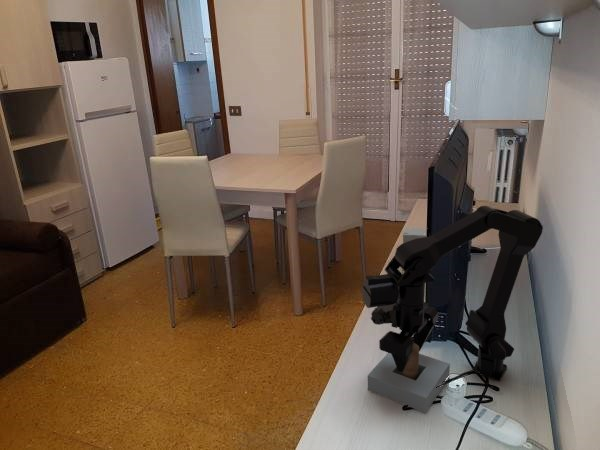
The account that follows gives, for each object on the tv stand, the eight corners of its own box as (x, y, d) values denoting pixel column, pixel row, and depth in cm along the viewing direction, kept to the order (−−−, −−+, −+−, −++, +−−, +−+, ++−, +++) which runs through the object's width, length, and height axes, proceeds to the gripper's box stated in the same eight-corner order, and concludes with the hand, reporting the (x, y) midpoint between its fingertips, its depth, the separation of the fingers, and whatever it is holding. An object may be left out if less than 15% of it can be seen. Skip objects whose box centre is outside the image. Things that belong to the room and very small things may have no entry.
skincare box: (429, 269, 166) (430, 227, 161) (426, 278, 160) (428, 235, 155) (405, 267, 169) (406, 226, 164) (401, 275, 163) (402, 233, 158)
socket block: (394, 358, 118) (394, 345, 116) (449, 377, 110) (449, 363, 108) (367, 389, 107) (367, 375, 106) (425, 413, 99) (426, 397, 98)
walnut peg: (404, 376, 111) (405, 340, 108) (420, 382, 109) (421, 345, 106) (397, 385, 108) (397, 348, 105) (413, 391, 106) (414, 354, 103)
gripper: (395, 275, 113) (395, 331, 118) (357, 308, 99) (358, 370, 104) (440, 286, 106) (437, 344, 112) (405, 323, 92) (404, 388, 98)
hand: (409, 360), depth 106 cm, fingers open, 9 cm apart
